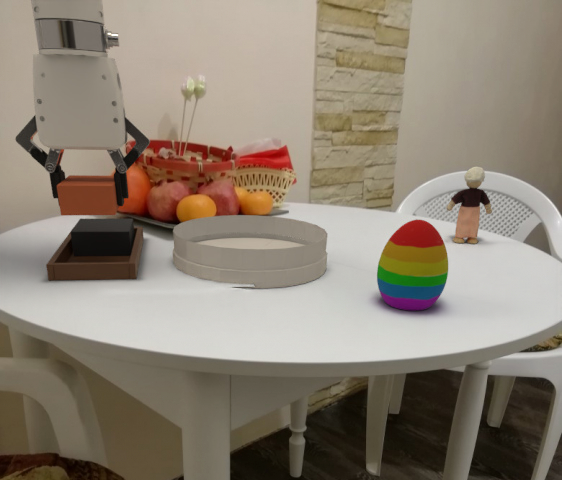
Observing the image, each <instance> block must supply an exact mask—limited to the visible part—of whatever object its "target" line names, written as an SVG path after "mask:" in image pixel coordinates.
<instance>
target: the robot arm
mask: <svg viewBox="0 0 562 480" xmlns="http://www.w3.org/2000/svg"><path fill="white" fill-rule="evenodd" d="M30 2H31V9H32V17H33V23H34V30H35V37H36V42H37V49H38V53H35V54H32V55H33V56H32V87H33V90H32V91H33V102H34V104H33V105H34V116H33V117H32V118H31V119H30V120H29V121H28V122H27V123H26V125H24V127H23V128H22V129H21V130H20V131H19V132H18V133H17V135H16V136H15V142H16V143H17V144H18V145H19V146H20V147H21V148H22V149H23V150H24V151H26V152H27V153H28V154H29V155H30V156H31V158H32V159H34V160H35V161H36V162H37V163H38V164H39V165H41V166H42V167H43V168H44V170H45V171H46V172H47V173H49V179H50V185H51V186H50V187H51V193H52V197H53V199H57V202H58V207H60V205H59V198H58V192H57V185H58V184H59V183H61V182H62V181H63V180H64V179H66V173H65V171H64V170H63V169H62V165H61V163H62V159H63V155H64V152H65V150H79V151H82V150H83V151H84V150H85V151H107V153H108V155H109V157H110V159H111V161H112V162H113V164H114V167H115V168H114V173H113V176H114V182H115V190H116V199H117V205H118V206H119V207H123V206H124V205H125V199H130V198H129V186H128V184H129V183H128V174H127V171H129V169H130V168H131V167H132V166H133V164H134V163H135V162H136V161H137V160H138V159H139V157H141V155H142V154H143V153H144V152H145V150H146V149H147V148H148V147H149V146H150V143H151V139H150V138H149V137H148V136H147V135H146V134H145V133H144V132H143V131H142V130H141V129H140V128H138V126H137V125H135V124H134V123H133V122H132V121H131V120H130V118H128V117H127V115H126V108H125V101H124V95H123V94H124V93H123V88H122V83H121V77H120V73H119V70H118V65H117V61H116V59H115V58H113V57H109V54H108V53H109V50H111V48H114V47H120V35H119V33H118V32H112V30H111V31H109V30H108V28H106V26H105V15H104V5H103V4H104V3H103V0H30ZM36 134H37V135H38V139H39V142H40V144H41V145H43V146H44V147H46V148H49V149H48V153H47V152H46V151H45V150H44V149H42V148H41V147H39V146H38V144H37V143H36V142H35V141H34V136H36ZM128 135H129V136H131V137H132V138H133V139H134V141H135V143H134V145H133V147H132V148H131V149H130V150H129V151H128V152H127V154H125V155H124V154H123V152H122V150H121V148H122V147H123V146H125V144H127V142H128Z"/></svg>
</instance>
